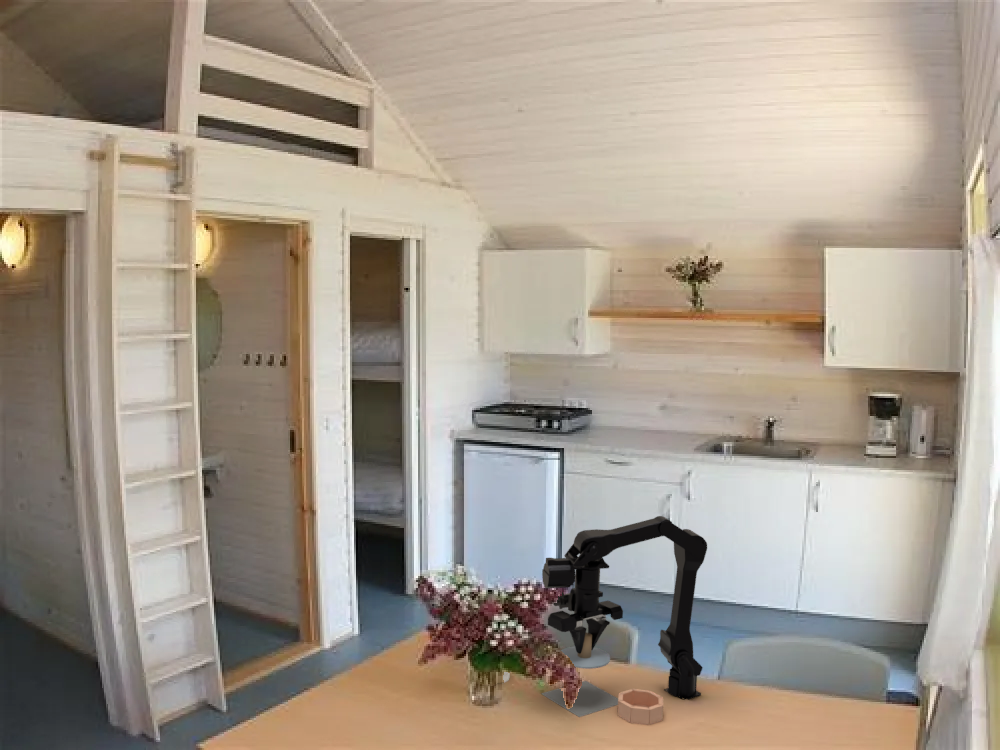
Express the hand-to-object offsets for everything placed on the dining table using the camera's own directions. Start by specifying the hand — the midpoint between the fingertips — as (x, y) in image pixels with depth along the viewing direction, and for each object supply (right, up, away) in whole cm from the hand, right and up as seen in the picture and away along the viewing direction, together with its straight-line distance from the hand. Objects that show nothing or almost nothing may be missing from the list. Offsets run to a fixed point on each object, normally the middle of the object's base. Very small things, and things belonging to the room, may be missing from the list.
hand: (584, 651), depth 206 cm
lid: (0, -2, 0) cm, 2 cm away
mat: (0, -12, +1) cm, 12 cm away
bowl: (+12, -13, -6) cm, 19 cm away
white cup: (-21, -11, +11) cm, 26 cm away
